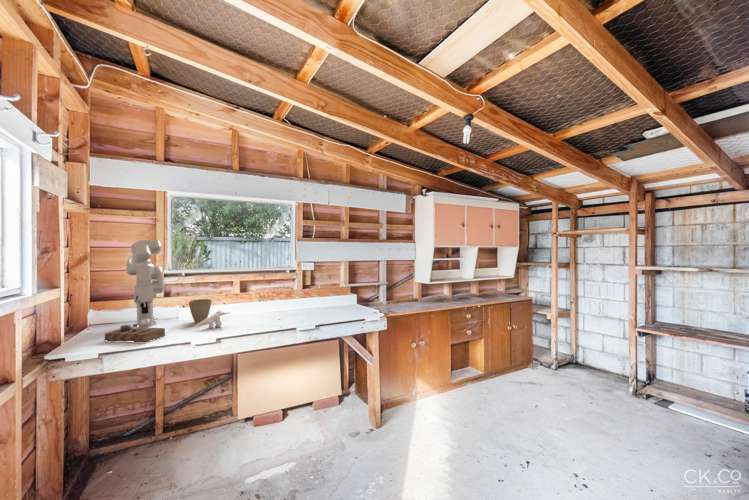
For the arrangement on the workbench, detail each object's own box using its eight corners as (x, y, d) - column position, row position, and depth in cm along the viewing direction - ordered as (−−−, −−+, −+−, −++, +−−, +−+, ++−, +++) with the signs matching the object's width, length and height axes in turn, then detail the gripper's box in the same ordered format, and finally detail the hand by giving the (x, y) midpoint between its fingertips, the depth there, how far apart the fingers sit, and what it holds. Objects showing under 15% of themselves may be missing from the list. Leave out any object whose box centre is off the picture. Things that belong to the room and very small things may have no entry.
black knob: (125, 336, 198) (125, 324, 198) (132, 336, 197) (132, 324, 197) (118, 339, 193) (118, 326, 193) (125, 339, 193) (125, 326, 192)
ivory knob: (145, 331, 196) (145, 318, 196) (152, 331, 195) (151, 318, 195) (138, 333, 191) (138, 320, 191) (145, 333, 191) (145, 320, 190)
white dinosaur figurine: (232, 324, 224) (230, 309, 222) (194, 334, 208) (192, 318, 207) (229, 322, 229) (227, 307, 228) (192, 331, 213) (190, 316, 212)
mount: (105, 341, 189) (104, 333, 189) (126, 334, 203) (125, 327, 203) (146, 343, 186) (146, 334, 185) (164, 335, 199) (164, 328, 199)
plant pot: (205, 324, 227) (205, 302, 227) (184, 324, 227) (184, 302, 226) (215, 319, 242) (215, 298, 241) (196, 319, 242) (195, 299, 241)
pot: (135, 329, 196) (135, 323, 196) (139, 330, 196) (139, 323, 195) (131, 331, 193) (131, 324, 193) (135, 331, 193) (135, 325, 192)
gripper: (148, 282, 200) (149, 310, 200) (127, 285, 185) (128, 316, 186) (159, 282, 199) (160, 310, 199) (138, 285, 184) (139, 316, 185)
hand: (145, 313), depth 193 cm, fingers closed
